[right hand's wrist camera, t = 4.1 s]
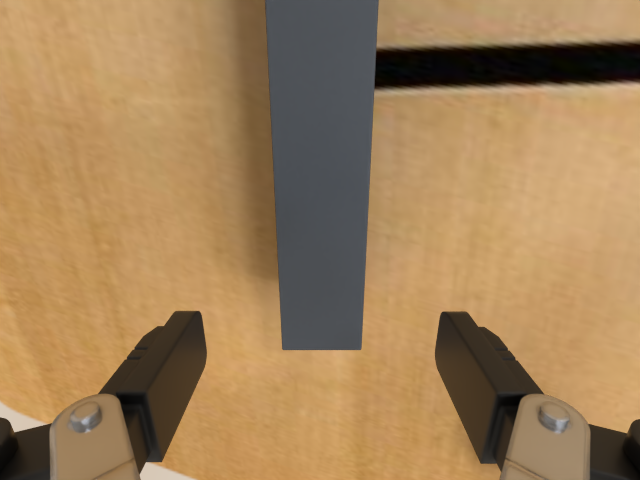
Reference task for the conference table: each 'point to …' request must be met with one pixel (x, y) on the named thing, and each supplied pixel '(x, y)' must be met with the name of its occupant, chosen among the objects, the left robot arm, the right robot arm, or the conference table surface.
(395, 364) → the conference table surface
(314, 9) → the post
